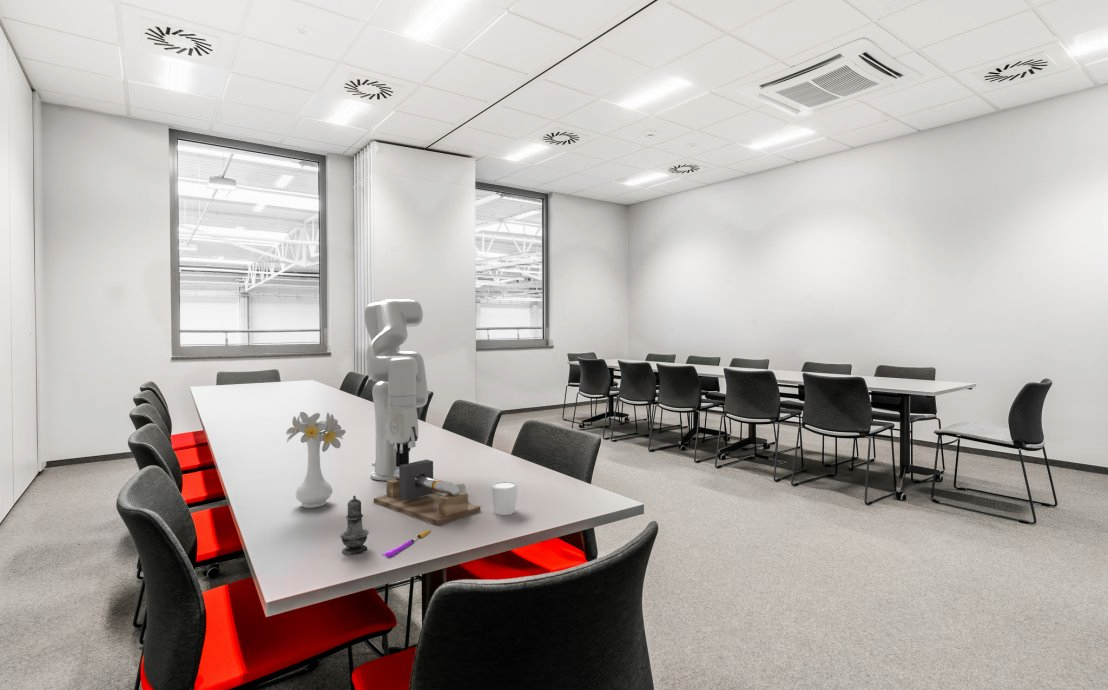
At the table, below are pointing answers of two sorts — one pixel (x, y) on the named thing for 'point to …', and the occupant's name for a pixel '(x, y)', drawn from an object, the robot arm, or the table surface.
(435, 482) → the pipe
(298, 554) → the table surface
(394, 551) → the purple and yellow tool
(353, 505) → the salt shaker
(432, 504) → the pipe stand
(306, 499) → the flower vase
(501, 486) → the shot glass
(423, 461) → the collar
